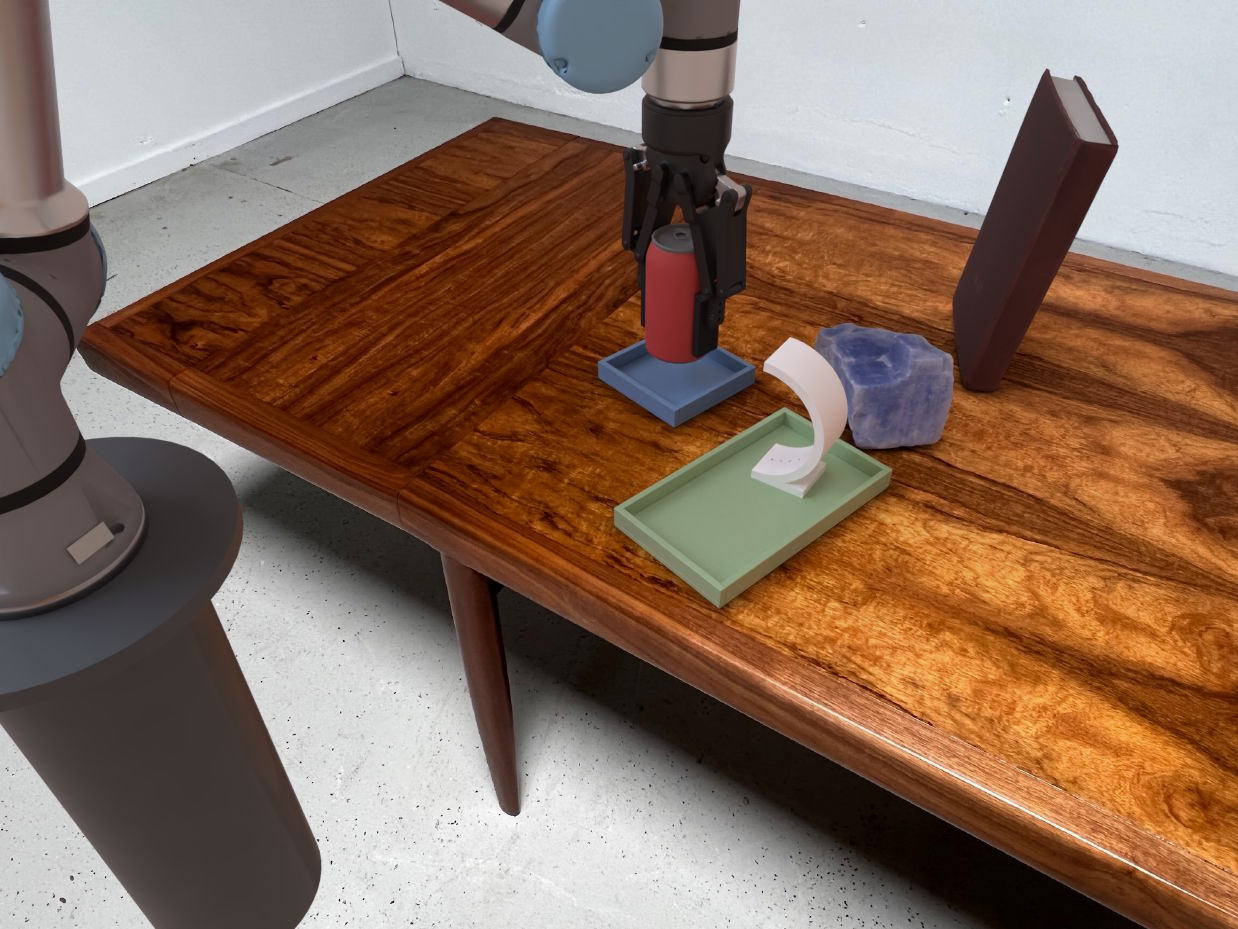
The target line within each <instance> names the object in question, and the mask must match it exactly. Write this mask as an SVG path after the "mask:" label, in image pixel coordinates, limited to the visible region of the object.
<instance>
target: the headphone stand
mask: <svg viewBox="0 0 1238 929" xmlns="http://www.w3.org/2000/svg"><path fill="white" fill-rule="evenodd" d="M762 370H763V372H765V373H767V374H769V375H772V376H773V377H775V378H777V379H779V380H780V381H782V382H783V383H784V384H785V385H787V386H788V387H789V388H790V389H791V390H792V391H793V392H794V393H795V394H796V396H798V398H799V399H800V400H801V402H802V403H803V404H804V406H805V409H806V410H807V412H808V415H809V417H810V419H811V422H812V423H813V427H814V445H812V446H809V447H802V448H794V447H787V446H783V445H780V444H777V443H776V444H775V445H774V446H773V447H772V448H771V449H770V450H769V451H768V453H767V454H766V455H765V456H764V457H763V458H762V459H761V460H760V461H759V462H758V464H757V465H756V466H755V467H754V468H753V469H752V472H751V477H752V478H754V479H756V480H759V481H761V482H763V483H766V484H768V485H771V486H773V487H775V488H778V489H780V490H783V491H785V492H787V493H790V494H792V495H794V496H797V497H799V498H802V499H803V497H804V496H805V495H806V494H807V492H808V491H809V490H810V489H811V487H812V486H813V485H814V484H815V482H816V481H817V480H818V479H819V478H820V476H821V475H822V474H823V473H824V471H825V469H826V464H827V463H825V462H822V461H820V460H821V459H822V458H823V457H824V456H825V454H826V453H827V452H828V451H829V450H830V448H831V447H832V446H833V445H834V444H835V442H836V441H837V440H838V439H840V438H841V436H842V434H843V432H844V430H845V427H846V426H847V425H846V424H847V422H848V418H847V414H848V406H847V399H846V394H845V391H844V388H843V386H842V383H841V381H840V379H839V377H838V376H837V374H836V372H835V371H834V369H833V368H832V367H831V365H830V364H829V363H828V362H827V361H826V360H825V359H824V358H823V357H822V356H821V355H820V354H819V353H818V352H817V351H815V348H814V347H813V348H812V347H811V346H810V345H809V344H807V343H805V342H803V341H801V340H799V339H797V338H794V337H791V336H790V337H789V338H787V340H786V341H784V342H783V343H782V345H780V347H778V348H777V349H776V350H775V351H774V352H773V353H772V354H771V355H770V356H769V357H768V358H767V359H765V361H764V362H763V369H762Z"/></svg>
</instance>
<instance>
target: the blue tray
mask: <svg viewBox="0 0 1238 929" xmlns="http://www.w3.org/2000/svg"><path fill="white" fill-rule="evenodd" d="M756 370H757V366H755V365H754V364H752V363H750V362H748V361H747V360H745V359H743V358H742V357H739V356H737V355H735V354H734V353H732V352H731V351H729V350H727V349H725V348H723V347H722V346H719V345H718V347H717V349H715V350H713V351H711V352H709V353H708V354H706V355H705V356H704V357H703V358H702V359H699V360H697V361H695V362H691V363H686V364H672V363H666V362H664V361H661V360H658V359H656V358H655V357H654V356H652V355H651V354H650V353H649V352H648V350H647V349H646V347H645V338H644V339H642V340H640V341H638V342H636V343H634V344H631V345H630V346H627V347H625V348H623V349H621V350H619V351H617V352H615V353H613V354H611V355H609V356H607V357H604V358H602V359H600V360H598V361H597V373H598V374H597V378H598V379H599V380H601V381H603V382H604V383H606V384H607V385H608V386H610V387H611V388H613V389H614V390H616V391H618V392H619V393H621V394H622V395H624V396H625V397H627V398H628V399H630V400H631V401H633V402H634V403H636V404H637V405H639V406H640V407H642V408H643V409H644V410H647V411H648V412H650V413H651V414H652V415H654V416H655V417H657V418H658V419H660V420H661V421H663V422H665V423H666V424H667V425H669V426H671V427H672V428H677V427H678V426H680V425H683V424H684V423H685V422H687V421H689V420H691V419H692V418H695V417H697V416H698V415H700V414H702V413H704V412H705V411H707V410H709V409H710V408H712V407H714V406H716V405H718V404H720V403H721V402H723V401H725V400H727V399H729V398H730V397H732V396H734V395H736V394H737V393H739V392H741V391H743V390H745V389H746V388H748V387H750V386H752V385H754V384H755V380H756Z"/></svg>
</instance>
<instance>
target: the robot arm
mask: <svg viewBox="0 0 1238 929" xmlns="http://www.w3.org/2000/svg"><path fill="white" fill-rule="evenodd" d="M438 2H441V3H442V4H444V5H447V6H448V7H450V8H452V9H454V10H456V11H458V12H460V13H461V14H463V15H465V16H467V17H469V18H470V19H473V20H474V21H477V22H479V23H481V24H483V25H484V26H486V27H488V28H490V29H491V30H493V31H494V32H496V33H498V34H500V35H501V36H503V37H504V38H506V39H507V40H509V41H511V42H513V43H515V44H517V45H519V46H521V47H523V48H524V49H527V50H529V51H531V52H532V53H534V54H536V55H538V56H539V57H541V58H542V59H543V61H544V63H545V64H546V65H547V67H548V68H550V69H551V70H552V71H553V73H554V74H555V75H556V76H558V77H559V78H560V79H561V80H563V81H564V82H565V83H567V85H569V86H570V87H573V88H574V89H577V90H578V91H581V92H584V93H586V94H587V93H588V94H594V95H605V94H612V93H615V92H619V91H621V90H624V89H626V88H628V87H629V86H632V85H633V84H634V83H636V82H637V81H638V80H640V79H641V84H640V85H641V86H640V87H641V89H642V90H643V92H644V93H645V94H644V96H643V97H642V100H641V140H642V141H643V143H639V144H636V145H634V146H631V147H627V148H625V149H623V151H622V160H623V166H624V172H625V181H624V195H623V196H624V197H623V211H622V212H623V213H622V214H623V215H622V228H621V230H622V231H621V246H622V248H623V249H624V250H625V251H631V252H632V253H633V256H634V260H635V261H636V262H637V287H638V290H639V291H640V326H641V327H643V328H644V329H645V295H646V255H647V251H648V248H649V246H650V243H651V241H652V234H653V233H654V231H655V230H657V229H658V228H660V227H662V226H665V225H668V224H672V221H673V217H674V215H675V211H676V208H677V206H678V207H679V208H680V209H681V212H682V218H683V222H684V223H688V224H689V226H690V231H691V236H692V242H693V247H694V252H695V257H696V262H697V267H698V273H699V278H700V283H701V288H702V291H701V292H699V293H697V294H695V304H694V323H693V343H692V356H694V357H696V358H699V357H701V356H703V355H705V354H707V353H709V352H711V351H713V350H715V349H717V347H718V346H719V332H720V326H721V325H723V323H724V322H725V315H726V303H727V302H726V301H727V299H730V298H732V297H733V296H736V295H737V294H740V293H741V292H744V291H745V290H746V289H747V288H746V287H747V233H748V232H747V230H748V227H747V226H748V222H747V221H748V209H749V205H750V202H751V199H752V196H753V193H754V192H753V188H752V185H751V184H750V183H748V182H744V183H741V184H738V183H737V182H736V181H734V180H733V179H732V178H730V177H729V176H728V169H727V167H726V162H725V152H726V150H727V147H728V146H729V144H730V141H731V140H732V132H733V131H732V130H733V116H734V104H735V102H734V99H733V98H732V97H731V95H730V94H732V93H733V91H734V90H735V82H736V81H735V79H736V68H737V54H738V40H739V37H738V36H739V22H740V9H741V0H438ZM56 78H57V77H56V66H55V55H54V45H53V33H52V23H51V12H50V0H0V621H2V620H15V619H22V618H27V617H32V616H37V615H40V614H44V613H47V612H51V611H54V610H57V609H59V608H62V607H65V606H67V605H69V604H72V603H74V602H76V601H78V600H80V599H82V598H84V597H86V596H88V595H90V594H91V593H93V592H95V591H96V590H98V589H99V588H101V587H103V586H104V585H106V584H107V583H108V582H110V581H111V580H112V579H114V578H115V577H116V576H117V575H118V574H119V573H121V572H122V571H123V570H124V569H125V568H126V567H127V566H128V565H129V564H130V562H131V561H132V560H133V559H134V558H135V556H136V555H137V554H138V552H139V551H140V549H141V547H142V546H143V543H144V541H145V539H146V536H147V533H148V527H149V520H148V515H147V512H146V509H145V507H144V505H143V503H142V501H141V499H140V497H139V495H138V494H137V493H136V491H135V490H134V488H133V487H132V486H131V485H130V483H128V482H127V481H126V480H125V479H124V478H123V477H122V476H121V475H120V474H119V473H118V472H116V471H115V470H114V469H113V468H112V467H111V466H110V465H109V464H108V463H107V462H106V461H104V460H103V459H102V458H101V457H100V456H99V455H98V454H97V453H96V452H95V451H93V450H92V449H91V448H90V447H89V446H88V445H87V444H86V442H85V440H86V439H85V438H84V435H83V434H82V431H81V429H80V428H79V425H78V423H77V421H76V418H75V417H74V415H73V413H72V410H71V408H70V407H69V405H68V403H67V401H66V399H65V396H64V394H63V392H62V386H61V382H62V379H63V377H64V375H65V374H66V371H67V369H68V366H69V364H70V362H71V360H72V358H73V356H74V354H75V352H76V349H77V347H78V345H79V343H80V342H81V340H82V338H83V336H84V333H85V331H86V329H87V327H88V325H89V323H90V321H91V319H93V317H94V315H95V314H96V313H97V311H98V309H99V308H100V306H101V304H102V298H103V297H104V296H105V292H106V288H107V281H108V258H107V257H108V256H107V251H106V248H105V245H104V243H103V240H102V238H101V236H100V234H99V232H98V230H97V228H96V227H95V226H94V224H93V223H92V222H91V216H90V206H89V205H90V204H89V201H88V198H87V196H86V195H85V194H84V193H83V191H82V190H81V189H79V188H78V187H76V186H75V185H74V184H73V183H71V182H70V181H69V180H68V179H67V178H66V177H65V169H64V158H63V147H62V146H63V145H62V136H61V135H62V134H61V124H60V123H61V122H60V113H59V102H58V101H59V100H58V90H57V89H58V88H57V79H56ZM635 232H636V233H635ZM715 280H716V281H715ZM714 281H715V282H714Z"/></svg>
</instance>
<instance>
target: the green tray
mask: <svg viewBox="0 0 1238 929" xmlns="http://www.w3.org/2000/svg"><path fill="white" fill-rule="evenodd" d="M776 443H777V444H780V445H783V446H787V447H794V448H802V447H809V446H812V445H814V427H813V423H812V421H810V420H808V419H806V418H805V417H804V416H801V415H800V414H798V413H796V412H795V411H793V410H791V409H789V408H788V407H786V406H784V407H782V408H780V409H778V410H777V411H775V412H774V413H772V414H770V415H768V416H767V417H765V418H763V419H762V420H760V421H758V422H756V423H755V424H753V425H751V426H750V427H748V428H747V429H744V430H743V431H741V432H739V433H737V434H736V435H735V436H733V437H731V438H730V439H727V440H726V441H724V442H722V443H721V444H719V445H718V446H716V447H715V448H713V449H711V450H710V451H708V452H706V453H704V454H702V455H701V456H700V457H698V458H695V459H694V460H692V461H691V462H689V463H688V464H685V465H684V466H682V467H681V468H679V469H677V470H675V471H673V472H672V473H671V474H669V475H668V476H666V477H664V478H663V479H660V480H659V481H657V482H655V483H654V484H652V485H650V486H648V487H646V488H645V489H643V490H642V491H640V492H639V493H637V494H635V495H633V496H632V497H629V498H628V499H626V500H625V501H623V502H621V503H620V504H618V505H617V506H614V508H613V525H614V527H616V528H617V529H618V530H619V531H620V532H622V534H624V535H625V536H627V537H628V538H629V539H631V540H632V541H633V542H635V543H636V544H637V545H638V546H639V547H640V548H642V549H643V550H644V551H646V552H647V553H648V554H649V555H651V557H653V558H655V559H656V560H657V561H658V562H660V563H661V564H662V565H663V566H665V567H666V568H667V569H669V570H670V571H671V572H672V573H674V574H675V575H676V576H678V577H679V578H680V579H681V580H682V581H684V582H685V583H686V584H687V585H689V586H690V587H691V588H692V589H693V590H695V591H696V592H697V593H699V594H700V595H701V596H703V597H704V598H705V599H706V600H708V601H709V602H710V603H711V604H712V605H713V606H715V607H717V609H719V610H720V609H722V607H724V606H726V605H727V604H728V603H729V602H731V601H732V600H734V599H735V598H736V597H738V596H739V595H741V594H742V593H743V592H745V591H746V590H747V589H749V588H750V587H752V586H753V585H754V584H757V582H759V581H760V580H761V579H763V578H765V577H766V576H767V575H768V574H769V573H771V572H773V571H774V570H775V569H777V568H778V567H779V566H782V564H784V563H785V562H786V561H787V560H789V559H791V558H792V557H793V556H795V555H797V553H799V552H800V551H801V550H803V549H804V548H806V547H807V546H808V545H810V544H811V543H812V542H814V541H815V540H817V539H819V538H820V537H821V536H822V535H824V534H825V533H826V532H828V531H829V530H830V529H832V528H833V527H835V526H836V525H837V524H839V523H840V522H842V521H843V520H844V519H846V518H847V517H849V516H850V515H852V514H853V513H854V512H856V511H857V510H859V509H860V508H861V507H863V506H864V505H865V504H866V503H868V502H869V501H871V500H873V499H874V498H875V497H876V496H878V495H879V494H880V493H882V492H883V491H885V490H886V489H887V488H889V487H890V482H891V479H892V474H893V469H892V468H891V467H889V466H887V465H886V464H884V463H882V462H880V461H879V460H877V459H875V458H874V457H873V456H870V455H868V454H867V453H865V452H863V451H862V450H860V449H858V448H857V447H855V446H853V445H851V444H850V443H848V442H846V441H844V440H842V438H839V439H838V440H837V441H836V442H835V444H834V445H833V446H832V447H831V448H830V450H829V451H828V452H827V453H826V454H825V456H824V457H823V458H822V459H821V460H820V461H822V462H825V463H827V464H826V469H825V471H824V473H823V474H822V475H821V476H820V478H819V479H818V480H817V481H816V482H815V484H814V485H813V486H812V487H811V489H810V490H809V491H808V492H807V494H806V495H805V496H804V497H803V499H802V498H799V497H797V496H794V495H792V494H790V493H787V492H785V491H783V490H780V489H778V488H775V487H773V486H771V485H768V484H766V483H763V482H761V481H759V480H756V479H754V478H752V477H751V472H752V469H753V468H754V467H755V466H756V465H757V464H758V462H759V461H760V460H761V459H762V458H763V457H764V456H765V455H766V454H767V453H768V451H769V450H770V449H771V448H772V447H773V446H774V445H775V444H776Z"/></svg>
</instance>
